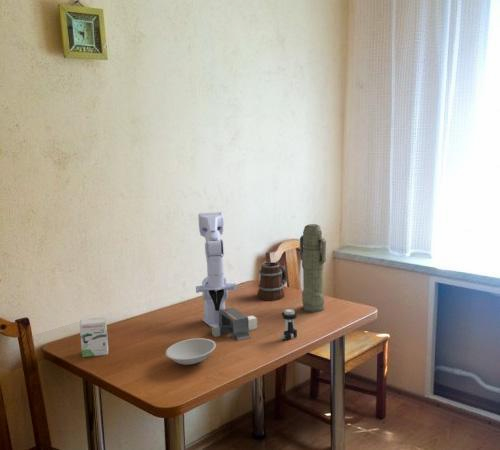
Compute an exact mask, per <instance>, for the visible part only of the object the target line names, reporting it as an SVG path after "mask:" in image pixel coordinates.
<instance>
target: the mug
mask: <svg viewBox="0 0 500 450" xmlns="http://www.w3.org/2000/svg"><path fill="white" fill-rule="evenodd" d="M258 273H259V275H260V277H259V284H257V287H258V291H257V296H258V299H260V300H264V301H272V302H273V301H278V300H281V299H283V298H285V292H284V288H285V286H284V285H285V284H286V283H287V281H288V277H287V269H286V266H284V265H283V266H282V265H280V263H279V262H272V261H270V262H269V261H267V262H263V263H261V266H260V270H259V271H258Z"/></svg>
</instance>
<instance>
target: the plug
mask: <svg viewBox="0 0 500 450" xmlns="http://www.w3.org/2000/svg"><path fill="white" fill-rule="evenodd" d="M246 316H247V317H248V325H249V331H251V330H255V329H258V318H257V317H256V316H254V315H246ZM211 334H212V336H213V337H215V338H218V337H221V336H223V335H228V334H231V326H227V327H222V328H220V326H219V325H217V324H215V325H212V327H211Z"/></svg>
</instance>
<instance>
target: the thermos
mask: <svg viewBox="0 0 500 450" xmlns="http://www.w3.org/2000/svg"><path fill="white" fill-rule="evenodd" d="M326 251H327V241H326V239H325V237H323V231H322V229H321V225H318V224H315V223H314V224H307V225H305V226H304V228H303V231H302V235H300V238H299V257H300V258H299V259H300V261H301V268H302V273H303V274H302V276H303V280H302V281H303V290H302V292H301V293H302V296H301V298H302V299H301V300H302V310H303V311H305V312H310V313H319V312H322V311H324V310H325V306H324V305H325V292H324V289H323V288H324V285H323V284H324V283H323V282H324V280H323V279H324V278H323V277H324V274H323V273H324V267H325V266H324V265H325V263H326V261H327V257H326V256H327V254H326Z"/></svg>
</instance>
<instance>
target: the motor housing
mask: <svg viewBox="0 0 500 450" xmlns="http://www.w3.org/2000/svg"><path fill="white" fill-rule="evenodd" d="M247 316H248V315H246V314H244V313H242V312H241V311H239V310H238V309H236V308H235V307H228V308H225V309H220V310H219V325H218V326H220V328H222V327H227V326H231V333H230V337H231V338H232V339H235V340H236V341H242V340H246V339H250V338H251V336H252V335H251V334H250V330H249V325H248V317H247Z"/></svg>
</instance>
